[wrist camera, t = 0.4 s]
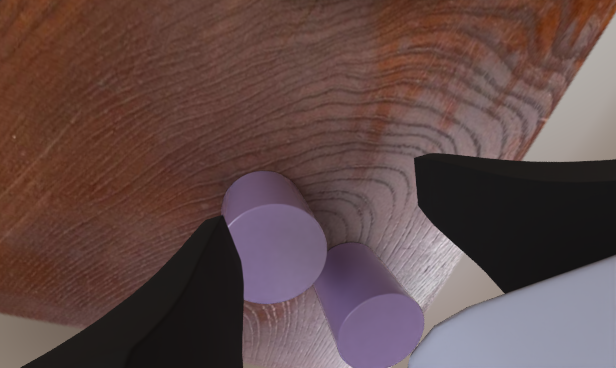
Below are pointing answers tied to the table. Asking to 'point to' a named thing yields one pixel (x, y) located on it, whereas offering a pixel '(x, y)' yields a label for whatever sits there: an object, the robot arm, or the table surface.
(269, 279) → the lavender cylinder post
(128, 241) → the table surface
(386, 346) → the purple round peg
